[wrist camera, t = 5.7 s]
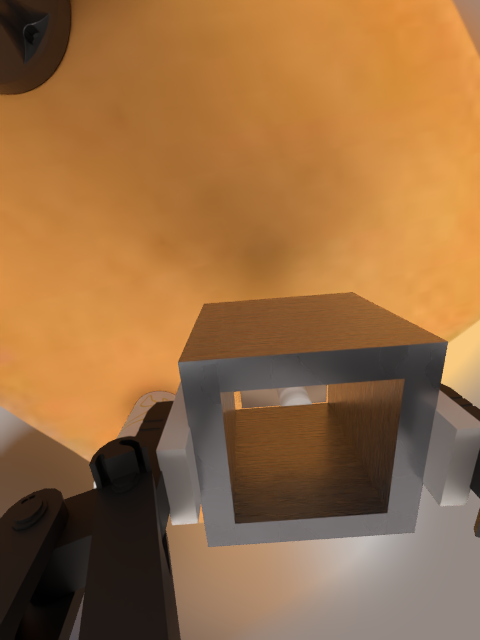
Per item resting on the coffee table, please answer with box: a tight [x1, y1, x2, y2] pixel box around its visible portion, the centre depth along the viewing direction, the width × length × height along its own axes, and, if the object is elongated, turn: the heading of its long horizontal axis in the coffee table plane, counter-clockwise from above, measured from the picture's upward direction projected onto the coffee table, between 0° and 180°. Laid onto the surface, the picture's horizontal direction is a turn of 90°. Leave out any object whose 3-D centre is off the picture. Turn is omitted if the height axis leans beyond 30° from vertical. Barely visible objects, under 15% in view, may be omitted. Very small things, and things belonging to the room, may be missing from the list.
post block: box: [241, 385, 327, 408], centre depth 33 cm, size 12×12×10 cm
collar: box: [178, 292, 448, 547], centre depth 11 cm, size 7×7×6 cm
